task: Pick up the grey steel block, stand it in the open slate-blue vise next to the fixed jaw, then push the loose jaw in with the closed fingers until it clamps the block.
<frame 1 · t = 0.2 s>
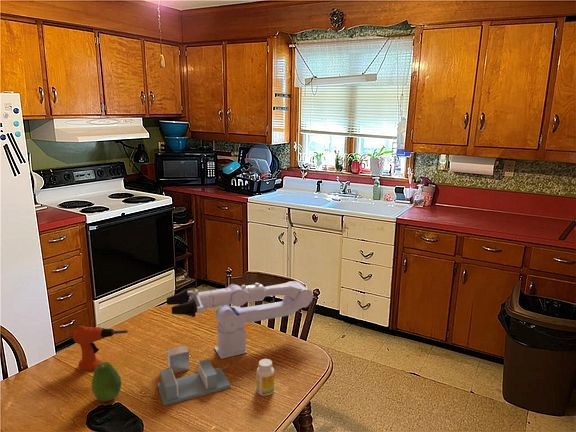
hand: (169, 305, 140), 21 cm above the table, tool horizontal, fingers open, 7 cm apart
loose jaw: (207, 373, 134), point 3 cm above the table, slide at 0.0 cm
avocado: (108, 399, 127), on the table
steel block: (178, 368, 143), on the table
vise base: (194, 386, 133), on the table
toy drill: (104, 367, 143), on the table
supplement bottle: (265, 391, 132), on the table
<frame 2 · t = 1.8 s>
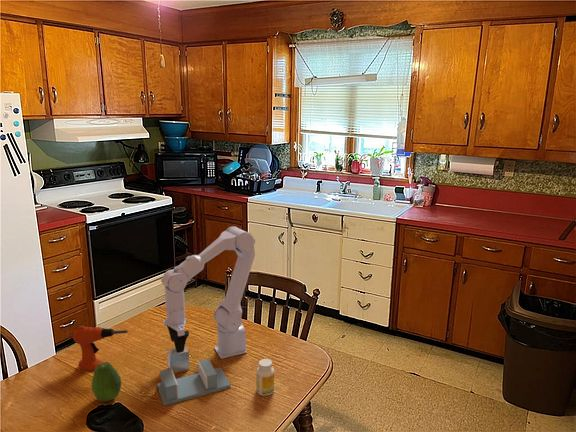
hand: (177, 346, 141), 8 cm above the table, tool pointing down, fingers open, 7 cm apart
nothing on the table moved.
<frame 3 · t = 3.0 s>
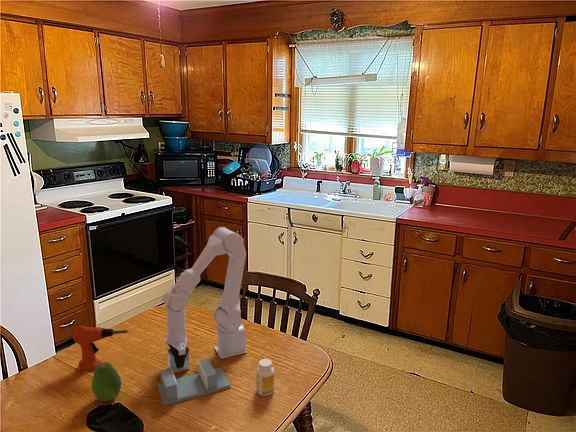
hand: (178, 363, 142), 2 cm above the table, tool pointing down, fingers closed on steel block, 4 cm apart
steel block: (178, 368, 143), on the table, touching gripper
everything else where it was.
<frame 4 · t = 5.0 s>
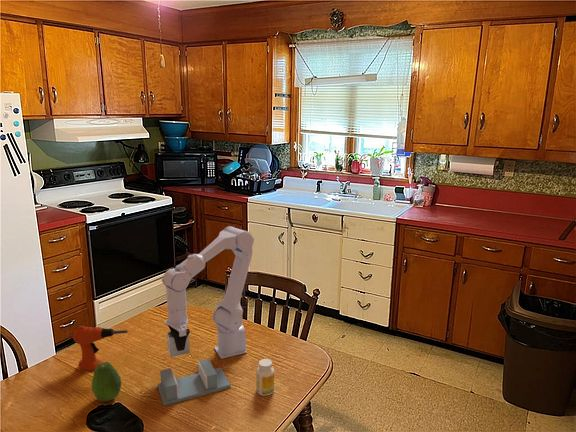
hand: (179, 346, 138), 9 cm above the table, tool pointing down, fingers closed on steel block, 4 cm apart
steel block: (178, 351, 138), point 8 cm above the table, touching gripper
everything else where it was.
when the fingers open (4 cm above the table, at t = 7.1 s): steel block drops 1 cm, resting on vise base.
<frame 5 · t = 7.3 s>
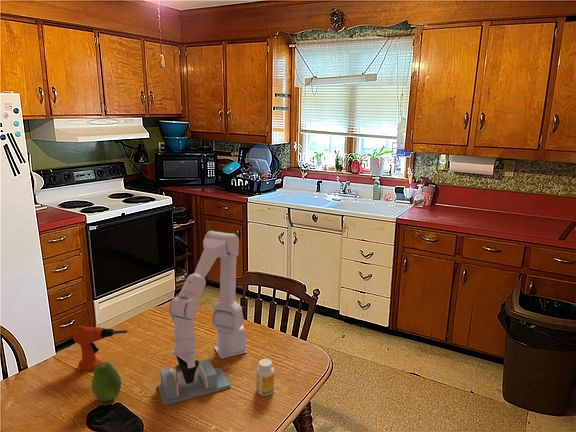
hand: (186, 376, 131), 4 cm above the table, tool pointing down, fingers open, 6 cm apart
steel block: (186, 386, 132), point 1 cm above the table, touching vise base
everything else where it was.
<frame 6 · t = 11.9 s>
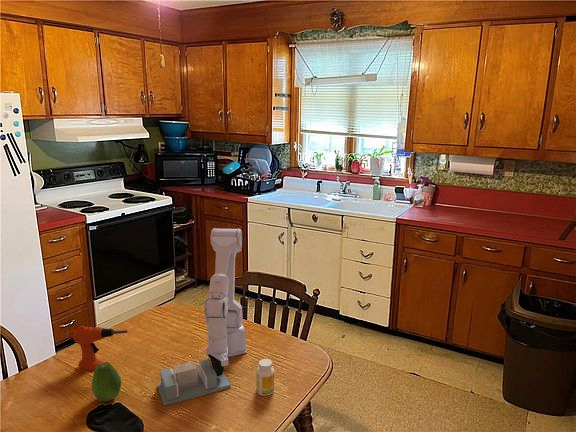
hand: (218, 374, 136), 2 cm above the table, tool pointing down, fingers closed, pressing on loose jaw
loose jaw: (207, 373, 134), point 3 cm above the table, slide at 0.1 cm, touching gripper
everything else where it was.
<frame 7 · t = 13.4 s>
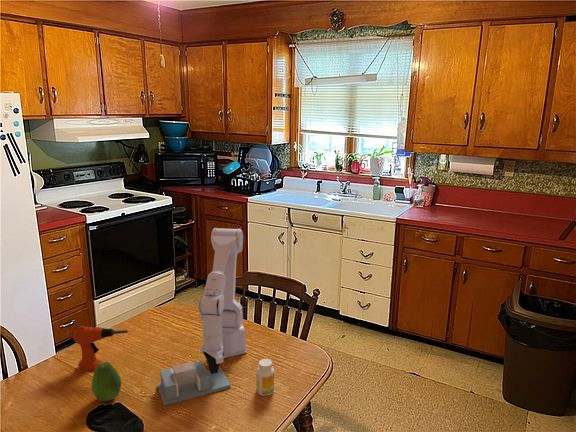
hand: (213, 372, 135), 3 cm above the table, tool pointing down, fingers closed
loose jaw: (200, 375, 133), point 3 cm above the table, slide at 2.2 cm, touching steel block
steel block: (185, 386, 132), point 1 cm above the table, touching loose jaw, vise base
everything else where it was.
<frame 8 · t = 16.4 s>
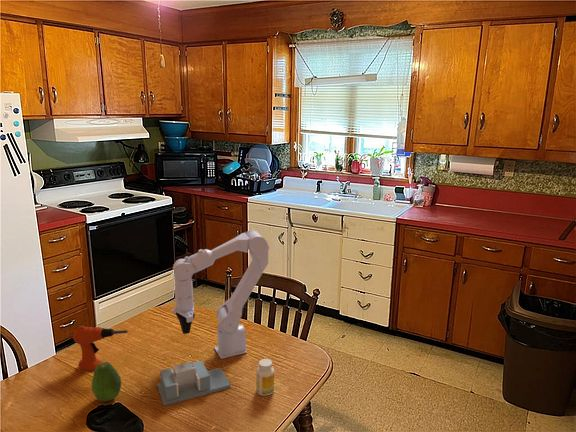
hand: (186, 332, 147), 9 cm above the table, tool pointing down, fingers closed
nothing on the table moved.
at the end: loose jaw slide at 2.2 cm; steel block 0.4 cm from the target spot, point 1.0 cm above the table; steel block tilted 0° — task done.
